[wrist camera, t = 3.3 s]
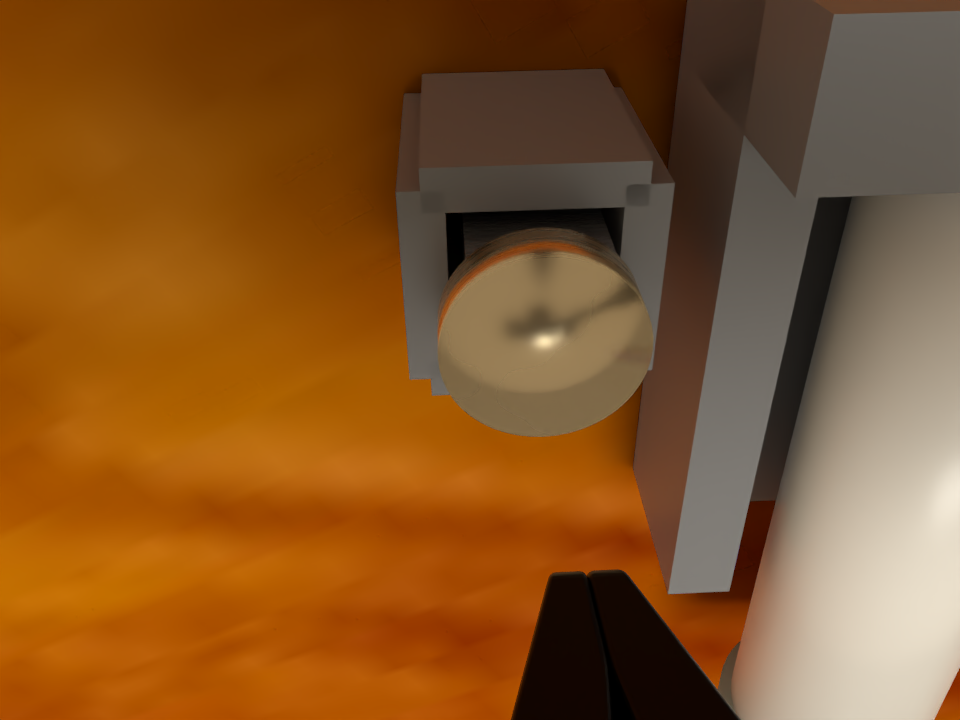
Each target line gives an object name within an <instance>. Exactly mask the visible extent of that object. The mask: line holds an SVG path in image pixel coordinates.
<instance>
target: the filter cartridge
mask: <svg viewBox="0 0 960 720" xmlns="http://www.w3.org/2000/svg"><path fill="white" fill-rule="evenodd" d="M959 668H960V193H940V194H910V195H879V196H852V199H851V203H850V207H849V211H848V215H847V219H846V223H845V227H844V231H843V235H842V239H841V243H840V247H839V251H838V255H837V259H836V263H835V267H834V271H833V275H832V279H831V283H830V287H829V291H828V295H827V299H826V303H825V307H824V311H823V315H822V319H821V323H820V327H819V331H818V335H817V339H816V343H815V347H814V351H813V355H812V359H811V363H810V367H809V371H808V375H807V379H806V383H805V387H804V391H803V395H802V399H801V403H800V407H799V411H798V415H797V419H796V423H795V427H794V431H793V435H792V439H791V443H790V447H789V451H788V455H787V459H786V463H785V466H784V470H783V474H782V478H781V482H780V486H779V490H778V494H777V498H776V502H775V506H774V510H773V514H772V518H771V522H770V526H769V530H768V534H767V538H766V542H765V546H764V550H763V554H762V558H761V562H760V566H759V570H758V574H757V578H756V582H755V586H754V590H753V594H752V598H751V602H750V606H749V610H748V614H747V618H746V622H745V626H744V630H743V634H742V638H741V641H740V642H739V643H738V644H737V645H736V646H735V647H734V648H733V649H732V651H731V652H730V654H729V655H728V657H727V659H726V661H725V664H724V666H723V669H722V674H721V678H720V682H719V686H718V691H719V692H720V694H721V695H722V696H723V697H724V699H725V700H726V701H727V703H728V704H729V705H730V706H731V708H732V709H733V710H734V711H735V713H736V714H737V715H738V717H739V718H740V719H741V720H934V719H935V717H936V714H937V712H938V710H939V708H940V706H941V704H942V702H943V700H944V698H945V696H946V694H947V692H948V690H949V688H950V686H951V684H952V682H953V680H954V678H955V676H956V674H957V672H958V670H959Z"/></svg>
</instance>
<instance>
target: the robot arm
mask: <svg viewBox="0 0 960 720" xmlns="http://www.w3.org/2000/svg"><path fill="white" fill-rule="evenodd" d="M511 720H741V719H740V718H739V717H738V715H737V714H736V713H735V711H734V710H733V709H732V708H731V706H730V705H729V704H728V703H727V701H726V700H725V699H724V697H723V696H722V695H721V694H720V692H719V691H718V690H717V688H716V687H715V686H714V685H713V683H712V682H711V681H710V679H709V678H708V677H707V676H706V674H705V673H704V672H703V671H702V669H701V668H700V667H699V665H698V664H697V663H696V662H695V660H694V659H693V658H692V656H691V655H690V654H689V653H688V651H687V650H686V649H685V647H684V646H683V645H682V644H681V642H680V641H679V640H678V639H677V637H676V636H675V635H674V633H673V632H672V631H671V630H670V628H669V627H668V626H667V624H666V623H665V622H664V621H663V619H662V618H661V617H660V615H659V614H658V613H657V612H656V610H655V609H654V608H653V607H652V605H651V604H650V603H649V601H648V600H647V599H646V598H645V596H644V595H643V594H642V592H641V591H640V590H639V589H638V587H637V586H636V585H635V583H634V582H633V581H632V580H631V578H630V577H629V576H628V575H627V574H626V573H625V572H624V571H622V570H596V571H591V572H589V573H588V575H587V576H586V575H585V573H583V572H580V571H575V572H555V573H552V574H551V575H550V576H549V579H548V582H547V585H546V589H545V593H544V597H543V601H542V604H541V608H540V612H539V616H538V619H537V623H536V627H535V631H534V635H533V638H532V642H531V646H530V650H529V653H528V657H527V661H526V665H525V668H524V672H523V676H522V680H521V684H520V687H519V691H518V695H517V699H516V702H515V706H514V710H513V714H512V718H511Z"/></svg>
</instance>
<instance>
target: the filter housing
mask: <svg viewBox="0 0 960 720" xmlns="http://www.w3.org/2000/svg"><path fill="white" fill-rule="evenodd" d="M940 193H960V0H687V7H686V15H685V24H684V33H683V41H682V50H681V59H680V67H679V76H678V84H677V93H676V102H675V110H674V119H673V128H672V136H671V145H670V153H669V162H668V170H667V168H666V166H665V165H664V163H663V161H662V159H661V157H660V156H659V154H658V152H657V150H656V148H655V147H654V145H653V143H652V141H651V140H650V138H649V136H648V134H647V132H646V131H645V129H644V127H643V125H642V123H641V122H640V120H639V118H638V116H637V115H636V113H635V111H634V109H633V107H632V106H631V104H630V102H629V100H628V98H627V97H626V95H625V93H624V91H623V90H622V88H621V87H613V85H612V83H611V81H610V79H609V78H608V76H607V74H606V72H605V70H604V69H575V70H540V71H505V72H470V73H435V74H422V87H421V93H406V94H404V99H403V111H402V122H401V134H400V146H399V157H398V169H397V181H396V205H397V218H398V231H399V244H400V258H401V271H402V284H403V297H404V310H405V323H406V336H407V349H408V362H409V375H410V379H431V387H432V395H450V393H449V392H448V391H447V388H446V386H445V384H444V382H443V380H442V377H441V373H440V370H439V363H438V308H439V303H440V299H441V296H442V293H443V290H444V288H445V286H446V284H447V282H448V280H449V278H450V277H451V275H452V274H453V273H454V271H455V270H456V268H457V267H458V266H459V265H460V264H461V263H462V246H461V237H448V229H447V213H460V212H490V211H521V210H551V209H582V208H600V210H601V213H602V215H603V218H604V221H605V223H606V226H607V229H608V232H609V234H610V237H611V240H612V243H613V245H614V248H615V251H616V253H617V254H618V255H619V256H620V257H621V259H622V260H623V261H624V262H625V263H626V265H627V266H628V268H629V269H630V270H631V272H632V274H633V276H634V278H635V280H636V283H637V285H638V288H639V290H640V293H641V296H642V298H643V301H644V304H645V306H646V309H647V311H648V314H649V317H650V321H651V324H652V329H653V338H654V339H653V353H652V358H651V362H650V365H649V368H648V370H647V373H646V375H645V377H644V379H643V386H642V395H641V403H640V412H639V421H638V429H637V438H636V447H635V455H634V464H633V470H634V474H635V478H636V481H637V485H638V488H639V492H640V496H641V499H642V503H643V506H644V510H645V513H646V517H647V521H648V524H649V528H650V531H651V535H652V539H653V542H654V546H655V549H656V553H657V557H658V560H659V564H660V567H661V571H662V574H663V578H664V582H665V585H666V589H667V592H668V594H680V593H702V592H724V591H729V590H730V586H731V582H732V577H733V573H734V568H735V564H736V560H737V555H738V551H739V546H740V542H741V537H742V533H743V529H744V524H745V520H746V515H747V511H748V507H749V502H750V501H772V500H776V498H777V494H778V490H779V486H780V482H781V478H782V474H783V470H784V466H785V463H786V459H787V455H788V451H789V447H790V443H791V439H792V435H793V431H794V427H795V423H796V419H797V415H798V411H799V407H800V403H801V399H802V395H803V391H804V387H805V383H806V379H807V375H808V371H809V367H810V363H811V359H812V355H813V351H814V347H815V343H816V339H817V335H818V331H819V327H820V323H821V319H822V315H823V311H824V307H825V303H826V299H827V295H828V291H829V287H830V283H831V279H832V275H833V271H834V267H835V263H836V259H837V255H838V251H839V247H840V243H841V239H842V235H843V231H844V227H845V223H846V219H847V215H848V211H849V207H850V203H851V199H852V196H879V195H910V194H940Z"/></svg>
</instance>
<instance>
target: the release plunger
mask: <svg viewBox="0 0 960 720" xmlns="http://www.w3.org/2000/svg"><path fill="white" fill-rule="evenodd" d="M460 222H461V246H462V263H461V264H460V265H459V266H458V267H457V268H456V270H455V271H454V273H453V274H452V275H451V277H450V278H449V280H448V282H447V284H446V286H445V288H444V290H443V293H442V296H441V299H440V303H439V308H438V363H439V370H440V373H441V377H442V380H443V382H444V384H445V386H446V388H447V391H448V392H449V393H450V395H451V396H452V398H453V399H454V401H455V402H456V403H457V404H458V405H459V406H460V407H461V408H462V409H463V410H464V411H465V412H466V413H468V414H469V415H470V416H471V417H473V418H474V419H476V420H478V421H479V422H481V423H483V424H485V425H487V426H489V427H491V428H494V429H496V430H499V431H502V432H506V433H510V434H515V435H521V436H535V437H544V436H555V435H561V434H566V433H570V432H574V431H577V430H580V429H583V428H586V427H588V426H590V425H593V424H595V423H597V422H599V421H601V420H602V419H604V418H606V417H607V416H609V415H610V414H612V413H613V412H615V411H616V410H617V409H618V408H620V407H621V406H622V405H623V404H624V403H625V402H626V401H627V400H628V399H629V398H630V397H631V396H632V395H633V394H634V392H635V391H636V390H637V388H638V387H639V385H640V384H641V382H642V380H643V379H644V377H645V375H646V373H647V370H648V368H649V365H650V362H651V358H652V353H653V339H654V338H653V329H652V324H651V321H650V317H649V314H648V311H647V309H646V306H645V304H644V301H643V298H642V296H641V293H640V290H639V288H638V285H637V283H636V280H635V278H634V276H633V274H632V272H631V270H630V269H629V268H628V266H627V265H626V263H625V262H624V261H623V260H622V259H621V257H620V256H619V255H618V254H617V253H616V251H615V248H614V245H613V243H612V240H611V237H610V234H609V232H608V229H607V226H606V223H605V221H604V218H603V215H602V213H601V210H600V208H582V209H551V210H521V211H490V212H460Z"/></svg>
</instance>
